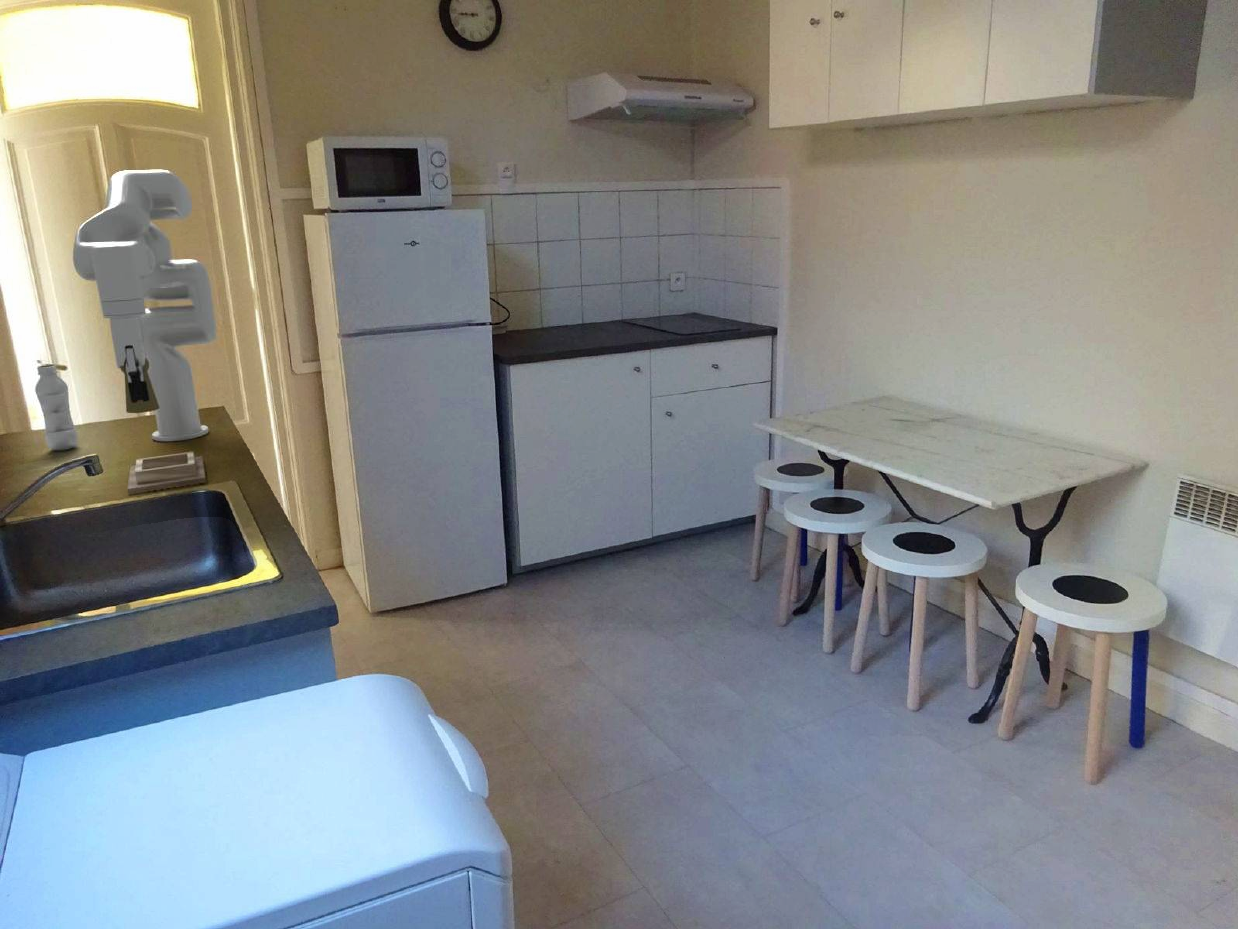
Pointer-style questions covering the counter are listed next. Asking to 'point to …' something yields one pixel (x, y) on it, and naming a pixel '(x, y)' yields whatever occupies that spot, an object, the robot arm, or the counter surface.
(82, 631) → the counter surface
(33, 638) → the counter surface
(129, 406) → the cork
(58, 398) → the plastic bottle
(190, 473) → the socket board
